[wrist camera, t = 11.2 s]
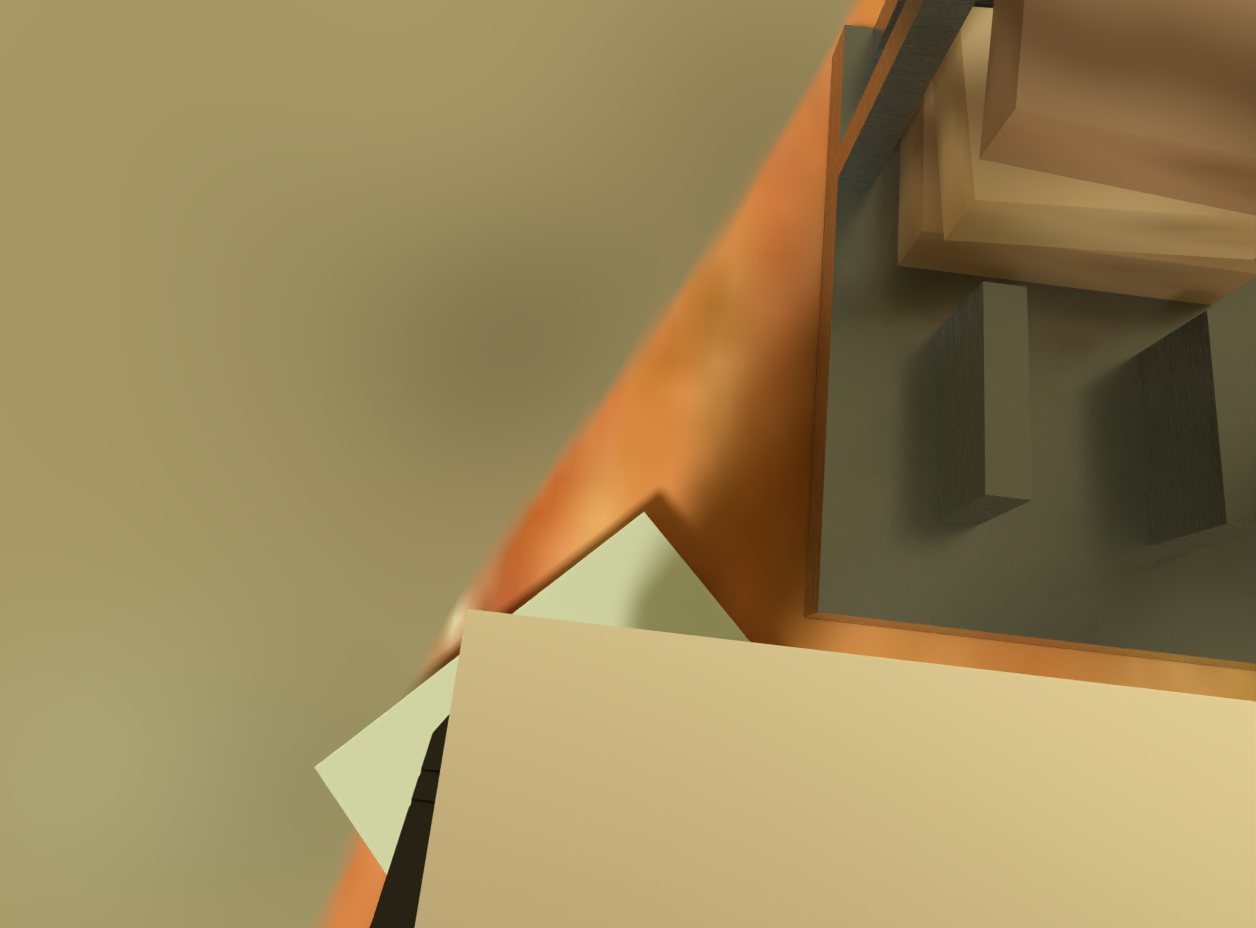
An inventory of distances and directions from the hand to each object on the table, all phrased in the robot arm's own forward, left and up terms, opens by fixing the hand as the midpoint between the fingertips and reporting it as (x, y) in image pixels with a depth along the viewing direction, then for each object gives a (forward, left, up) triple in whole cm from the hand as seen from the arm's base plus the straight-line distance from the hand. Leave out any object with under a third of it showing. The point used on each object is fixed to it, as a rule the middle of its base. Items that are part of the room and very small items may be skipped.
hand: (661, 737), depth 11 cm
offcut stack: (-21, -4, -11) cm, 24 cm away
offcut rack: (-18, -1, -13) cm, 22 cm away
